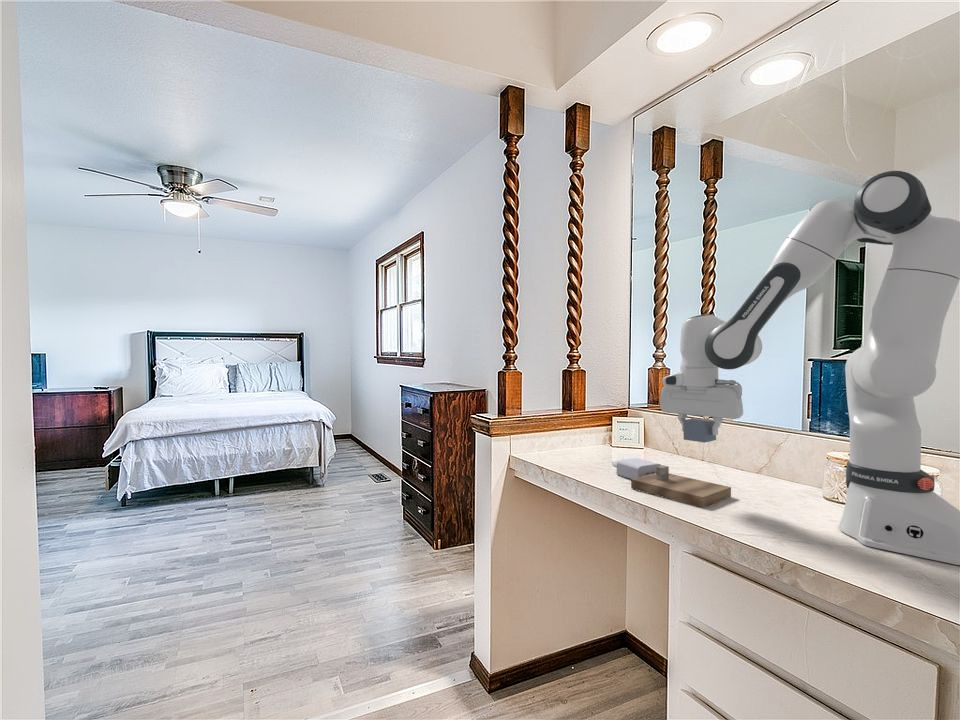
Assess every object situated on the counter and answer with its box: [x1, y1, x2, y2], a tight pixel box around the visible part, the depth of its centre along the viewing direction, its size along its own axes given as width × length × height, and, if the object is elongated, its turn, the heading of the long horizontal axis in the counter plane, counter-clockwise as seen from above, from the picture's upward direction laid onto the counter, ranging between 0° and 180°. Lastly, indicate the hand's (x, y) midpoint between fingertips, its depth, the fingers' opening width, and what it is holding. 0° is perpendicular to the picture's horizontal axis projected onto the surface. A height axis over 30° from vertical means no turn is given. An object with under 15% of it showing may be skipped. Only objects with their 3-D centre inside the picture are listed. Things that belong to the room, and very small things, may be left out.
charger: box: [611, 457, 662, 480], centre depth 146 cm, size 5×9×15 cm
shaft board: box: [630, 464, 732, 508], centre depth 127 cm, size 20×14×6 cm
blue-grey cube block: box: [682, 417, 717, 443], centre depth 123 cm, size 6×6×5 cm
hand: (699, 433), depth 123 cm, fingers closed on blue-grey cube block, 6 cm apart
